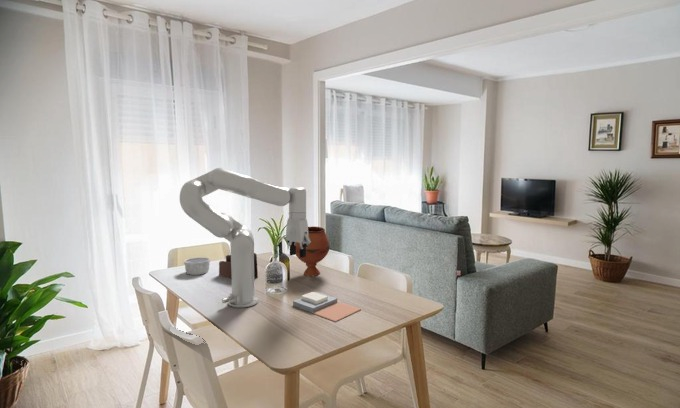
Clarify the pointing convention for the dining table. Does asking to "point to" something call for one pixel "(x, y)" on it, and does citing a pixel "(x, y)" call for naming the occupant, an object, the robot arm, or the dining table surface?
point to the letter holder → (226, 267)
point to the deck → (314, 307)
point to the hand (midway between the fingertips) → (297, 255)
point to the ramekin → (197, 265)
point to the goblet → (314, 250)
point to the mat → (337, 311)
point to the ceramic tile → (314, 297)
